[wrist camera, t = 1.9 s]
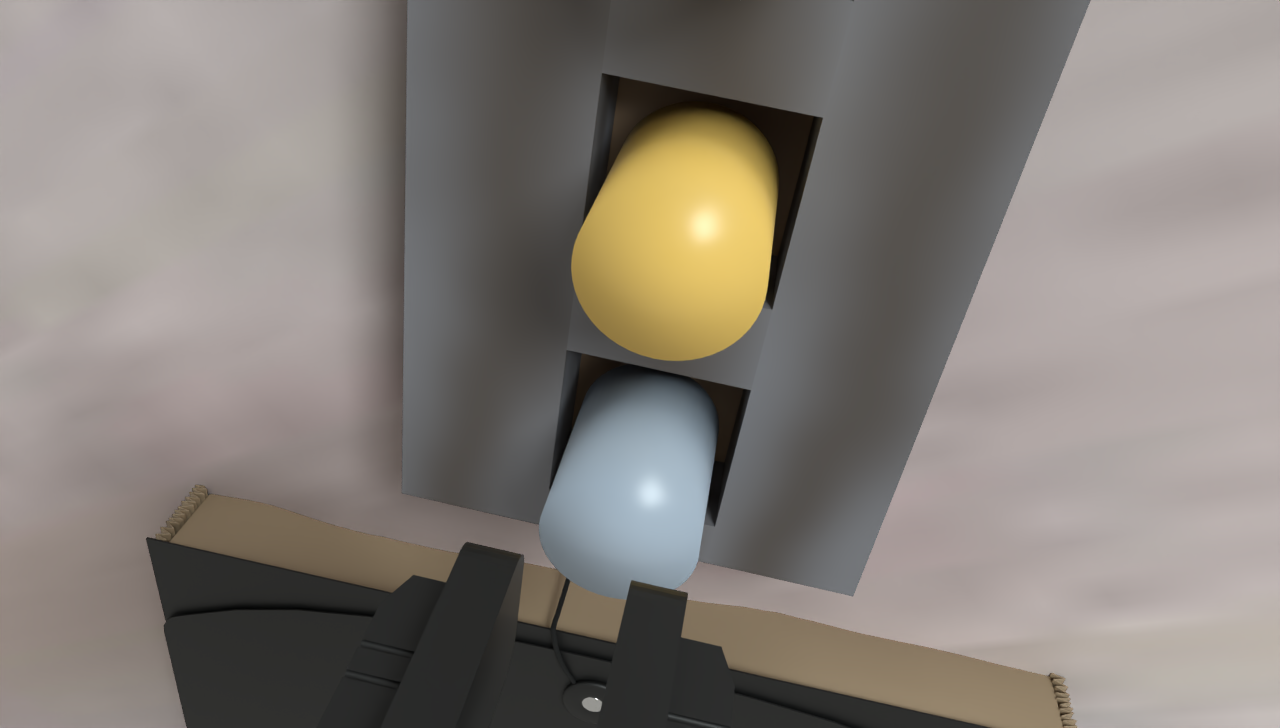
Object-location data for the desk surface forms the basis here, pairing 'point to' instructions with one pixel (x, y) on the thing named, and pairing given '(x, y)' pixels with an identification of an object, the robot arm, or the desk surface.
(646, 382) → the slate button
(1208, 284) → the desk surface
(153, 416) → the desk surface
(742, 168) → the amber button
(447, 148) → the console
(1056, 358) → the desk surface
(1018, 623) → the desk surface
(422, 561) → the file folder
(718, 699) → the robot arm
